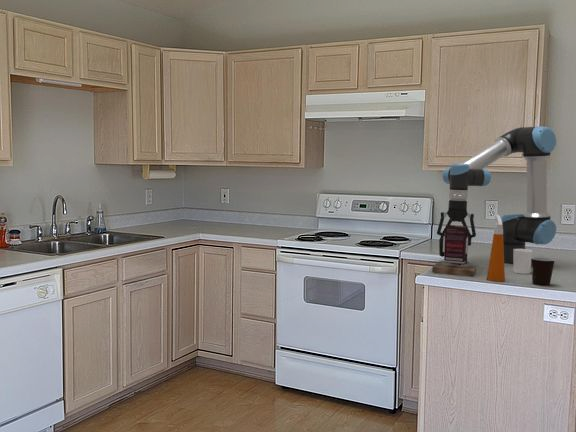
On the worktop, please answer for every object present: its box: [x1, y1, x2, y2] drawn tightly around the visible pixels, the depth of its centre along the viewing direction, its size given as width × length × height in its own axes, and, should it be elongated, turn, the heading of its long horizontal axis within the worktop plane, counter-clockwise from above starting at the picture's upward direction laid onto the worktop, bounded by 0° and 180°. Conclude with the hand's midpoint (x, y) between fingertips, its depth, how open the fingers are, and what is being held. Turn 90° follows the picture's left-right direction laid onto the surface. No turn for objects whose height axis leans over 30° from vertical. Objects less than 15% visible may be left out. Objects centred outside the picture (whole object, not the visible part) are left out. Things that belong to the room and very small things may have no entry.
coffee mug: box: [531, 256, 555, 287], centre depth 239 cm, size 12×9×10 cm
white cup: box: [512, 248, 534, 275], centre depth 263 cm, size 8×8×10 cm
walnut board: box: [431, 262, 477, 278], centre depth 259 cm, size 17×12×2 cm
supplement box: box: [443, 224, 467, 265], centre depth 258 cm, size 9×5×16 cm, turn 63°
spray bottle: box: [486, 214, 506, 282], centre depth 245 cm, size 7×11×26 cm, turn 171°
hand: (455, 252), depth 258 cm, fingers closed on supplement box, 9 cm apart
